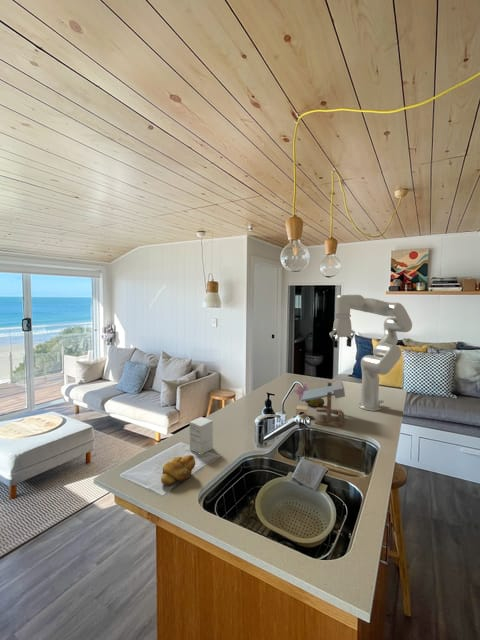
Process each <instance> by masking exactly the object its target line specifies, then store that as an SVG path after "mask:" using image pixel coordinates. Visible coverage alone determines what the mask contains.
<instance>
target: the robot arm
mask: <svg viewBox="0 0 480 640" xmlns="http://www.w3.org/2000/svg"><path fill="white" fill-rule="evenodd" d="M335 300H336V301H335V319H334V321H333V327H332V331H330V332H329V337H330V338H331V340H332V348H336V349H337V348H339V345H338V344H339V341H338V339H339V338H347V339H346V347H352V340H353V339H354V337H355V333H356V331H354V330H353V329H352V320H351V316H352V315H351V310H355V311H360V312H363V313H369V314H374V315H378V316H381V317H382V316H383V317H386V319H385V320H384V322H383V328H384V332H383V333H384V334H383V336H382V338H381V339H380V340H379V341H378V343H377V344H376V345H375V347H374V348H373V350H372V354H373V355H371V354H368V355H364V356H363V357H362V358H361V360H360V368H361V394H360V395H361V397H360V398H361V401H360V402H359V403H358V406H357V407H359V408H360V409H362V410H366V411H373V412H375V411H376V412H378V411H380V410H381V409H382V406H381V405H380V404H384V403H385V400H384V399H379V394H380V393H379V391H380V389H379V388H380V377H379V375H382V376H384V375H388V374H389V373H390V372H391V371H392V369H393V368H395V367H394V366H395V365H396V364H397V363H398V362H399V361H400V359H401V356H402V349H401V347H399V345H397V344H398V341H399V340H398V335H397V332H398V333H408V332H410V331H412V328H413V321H412V320H411V317H410V316H409V313H408V312H407V310H406V308H405V306H404V305H402V303H400V302H390V301H389V302H388V301H384V300H380V299H375V298H369V297H366V298H365V297H364V296H362V295H360V294H339V295H337V296H336V298H335Z"/></svg>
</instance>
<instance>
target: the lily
mask: <svg viewBox="0 0 480 640" xmlns="http://www.w3.org/2000/svg"><path fill="white" fill-rule="evenodd" d="M296 386H297V388H296V389H294V390H293V391H292V393H293V394H295V395H298V400H299V401H301V399H302V394H303V392H304V391H308V390H309V383H308V382H306V383H304V384H303V385H300V384H299V383H297V384H296ZM302 386H304V387H305V389H304V388H303V387H302Z"/></svg>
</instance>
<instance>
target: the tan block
mask: <svg viewBox="0 0 480 640" xmlns="http://www.w3.org/2000/svg"><path fill="white" fill-rule="evenodd" d="M300 412H304V413H306V414H307V415H308V416H309V406H305V405H296V407H295V416H296V415H297V414H299V413H300Z"/></svg>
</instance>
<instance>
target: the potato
mask: <svg viewBox="0 0 480 640" xmlns="http://www.w3.org/2000/svg"><path fill="white" fill-rule="evenodd" d="M302 396H303V394H302ZM304 402H305V403H306V404H308V405H310V406H312V407H322V406H324V404H325V400H324V398H318V399H313V400H308V401H304Z"/></svg>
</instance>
